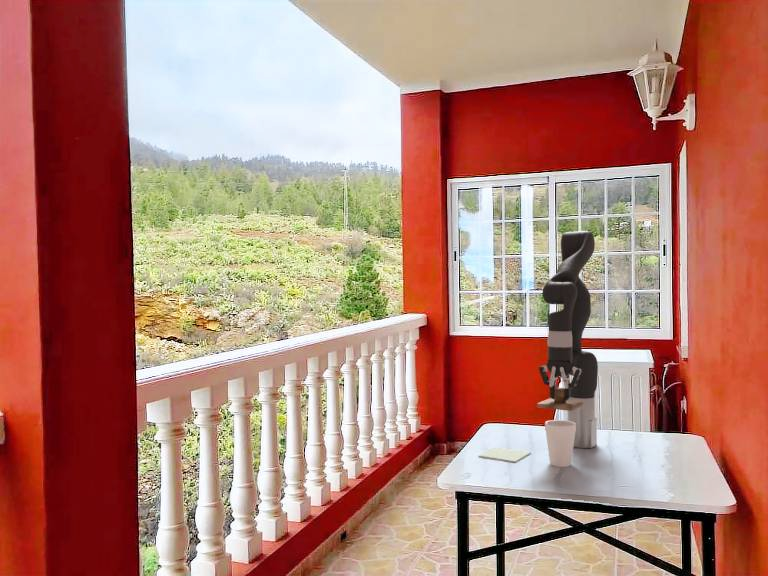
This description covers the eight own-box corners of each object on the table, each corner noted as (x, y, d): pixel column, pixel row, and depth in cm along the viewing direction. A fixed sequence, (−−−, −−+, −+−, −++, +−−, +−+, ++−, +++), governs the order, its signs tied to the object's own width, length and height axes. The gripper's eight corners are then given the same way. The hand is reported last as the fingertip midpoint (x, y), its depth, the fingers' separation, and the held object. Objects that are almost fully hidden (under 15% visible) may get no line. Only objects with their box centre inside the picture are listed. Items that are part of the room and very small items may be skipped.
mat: (530, 453, 222) (530, 452, 222) (515, 462, 212) (515, 461, 212) (495, 448, 230) (495, 447, 230) (478, 457, 219) (478, 455, 219)
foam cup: (563, 469, 203) (563, 427, 203) (539, 463, 210) (539, 422, 210) (581, 464, 209) (581, 423, 209) (557, 458, 216) (557, 418, 216)
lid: (582, 405, 211) (582, 387, 211) (571, 411, 202) (571, 392, 202) (549, 401, 217) (549, 384, 217) (536, 407, 208) (536, 389, 208)
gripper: (586, 345, 209) (586, 399, 209) (542, 343, 217) (542, 395, 217) (578, 347, 202) (578, 403, 203) (534, 344, 210) (534, 398, 211)
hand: (560, 399), depth 210 cm, fingers closed on lid, 3 cm apart
